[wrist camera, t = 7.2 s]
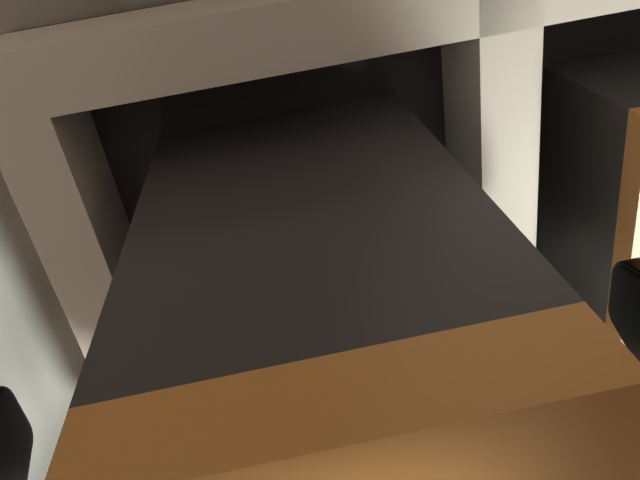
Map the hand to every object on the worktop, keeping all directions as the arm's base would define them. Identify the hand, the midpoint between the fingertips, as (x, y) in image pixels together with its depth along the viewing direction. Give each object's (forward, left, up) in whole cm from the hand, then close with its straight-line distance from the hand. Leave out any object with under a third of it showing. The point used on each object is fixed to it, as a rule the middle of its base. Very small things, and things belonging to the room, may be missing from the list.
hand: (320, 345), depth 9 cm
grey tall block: (0, 0, -4) cm, 4 cm away
